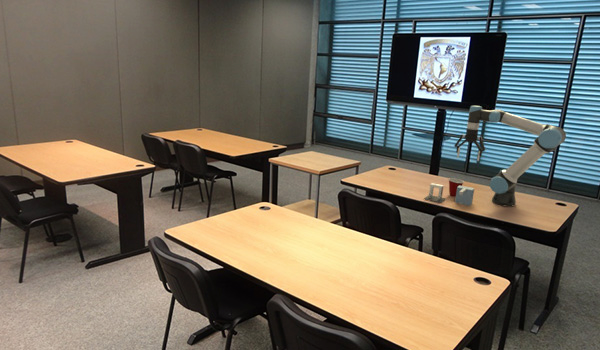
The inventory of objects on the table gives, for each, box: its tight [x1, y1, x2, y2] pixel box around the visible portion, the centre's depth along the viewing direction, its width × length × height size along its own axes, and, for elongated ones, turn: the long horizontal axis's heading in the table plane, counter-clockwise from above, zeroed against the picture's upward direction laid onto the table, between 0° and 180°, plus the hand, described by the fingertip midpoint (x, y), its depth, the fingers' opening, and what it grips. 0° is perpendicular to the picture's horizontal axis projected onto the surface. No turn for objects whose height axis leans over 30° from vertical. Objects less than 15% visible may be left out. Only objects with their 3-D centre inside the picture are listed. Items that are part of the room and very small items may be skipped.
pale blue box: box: [428, 182, 444, 200], centre depth 300 cm, size 8×4×10 cm, turn 56°
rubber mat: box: [423, 194, 447, 204], centre depth 302 cm, size 12×12×1 cm
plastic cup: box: [448, 177, 465, 198], centre depth 311 cm, size 11×11×12 cm
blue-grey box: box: [454, 185, 475, 207], centre depth 292 cm, size 10×16×11 cm, turn 146°
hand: (467, 158), depth 301 cm, fingers open, 13 cm apart
